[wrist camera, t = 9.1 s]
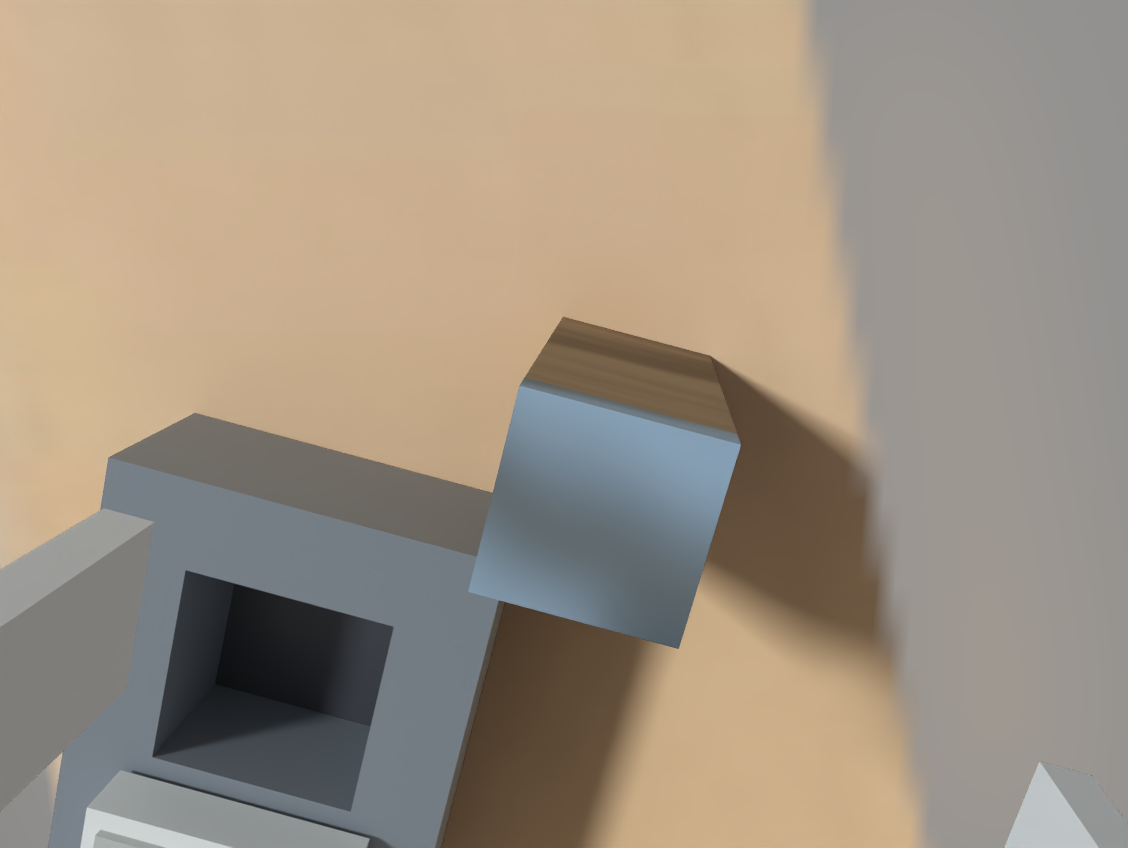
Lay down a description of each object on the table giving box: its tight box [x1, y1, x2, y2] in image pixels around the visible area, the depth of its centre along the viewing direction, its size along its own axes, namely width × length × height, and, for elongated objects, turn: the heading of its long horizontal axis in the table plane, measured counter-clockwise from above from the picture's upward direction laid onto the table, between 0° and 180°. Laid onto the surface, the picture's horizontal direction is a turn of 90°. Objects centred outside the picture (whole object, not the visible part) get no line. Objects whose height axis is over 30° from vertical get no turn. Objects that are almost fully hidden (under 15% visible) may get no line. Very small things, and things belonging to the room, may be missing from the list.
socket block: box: [48, 413, 505, 848], centre depth 35 cm, size 15×12×6 cm
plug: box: [468, 317, 741, 649], centre depth 29 cm, size 5×5×12 cm
